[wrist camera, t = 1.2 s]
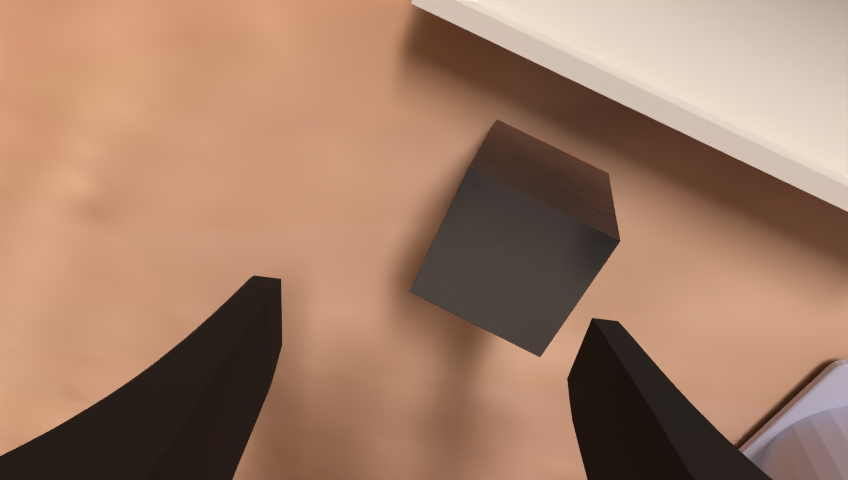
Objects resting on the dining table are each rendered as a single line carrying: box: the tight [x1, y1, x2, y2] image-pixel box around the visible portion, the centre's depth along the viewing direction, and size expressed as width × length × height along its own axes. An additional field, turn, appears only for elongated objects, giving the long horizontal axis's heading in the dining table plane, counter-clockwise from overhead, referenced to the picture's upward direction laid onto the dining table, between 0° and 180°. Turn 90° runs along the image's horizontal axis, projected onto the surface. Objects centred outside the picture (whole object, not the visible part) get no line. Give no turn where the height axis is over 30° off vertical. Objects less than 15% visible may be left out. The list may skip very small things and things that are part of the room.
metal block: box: [409, 120, 620, 357], centre depth 18 cm, size 4×4×6 cm
